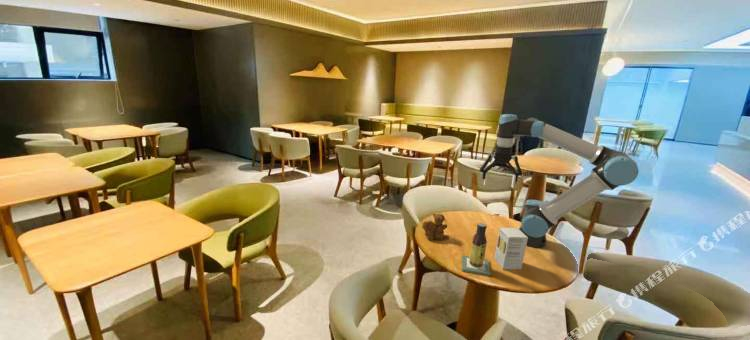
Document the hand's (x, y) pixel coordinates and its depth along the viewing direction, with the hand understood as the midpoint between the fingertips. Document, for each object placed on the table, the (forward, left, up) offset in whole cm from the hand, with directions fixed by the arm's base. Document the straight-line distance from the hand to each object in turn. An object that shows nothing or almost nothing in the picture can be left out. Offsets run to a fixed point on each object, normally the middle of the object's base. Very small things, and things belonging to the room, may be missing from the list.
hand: (498, 186), depth 159 cm
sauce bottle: (+9, +28, -30) cm, 42 cm away
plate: (+9, +28, -31) cm, 43 cm away
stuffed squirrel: (+29, +6, -32) cm, 43 cm away
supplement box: (-6, +21, -32) cm, 38 cm away
